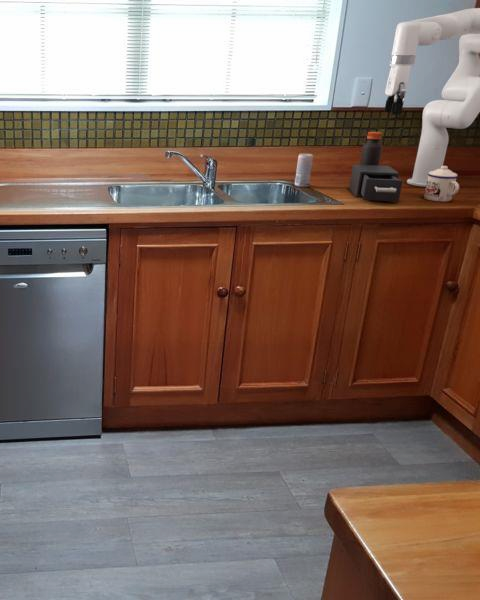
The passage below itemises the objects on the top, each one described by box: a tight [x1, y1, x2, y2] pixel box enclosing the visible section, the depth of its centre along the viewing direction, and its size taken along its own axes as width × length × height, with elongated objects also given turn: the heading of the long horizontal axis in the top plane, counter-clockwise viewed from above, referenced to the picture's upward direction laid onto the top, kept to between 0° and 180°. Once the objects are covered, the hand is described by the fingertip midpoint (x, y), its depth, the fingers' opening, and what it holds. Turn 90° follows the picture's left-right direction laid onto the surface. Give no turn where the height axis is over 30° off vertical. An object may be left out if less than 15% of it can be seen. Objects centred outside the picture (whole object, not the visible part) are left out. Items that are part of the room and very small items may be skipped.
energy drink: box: [294, 153, 314, 188], centre depth 234 cm, size 5×5×12 cm
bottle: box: [359, 131, 383, 166], centre depth 234 cm, size 7×7×20 cm
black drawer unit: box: [359, 174, 404, 203], centre depth 212 cm, size 18×11×7 cm, turn 167°
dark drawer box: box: [348, 164, 400, 198], centre depth 222 cm, size 15×13×9 cm
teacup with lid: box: [423, 165, 460, 203], centre depth 212 cm, size 12×9×12 cm
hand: (392, 113), depth 215 cm, fingers open, 9 cm apart
